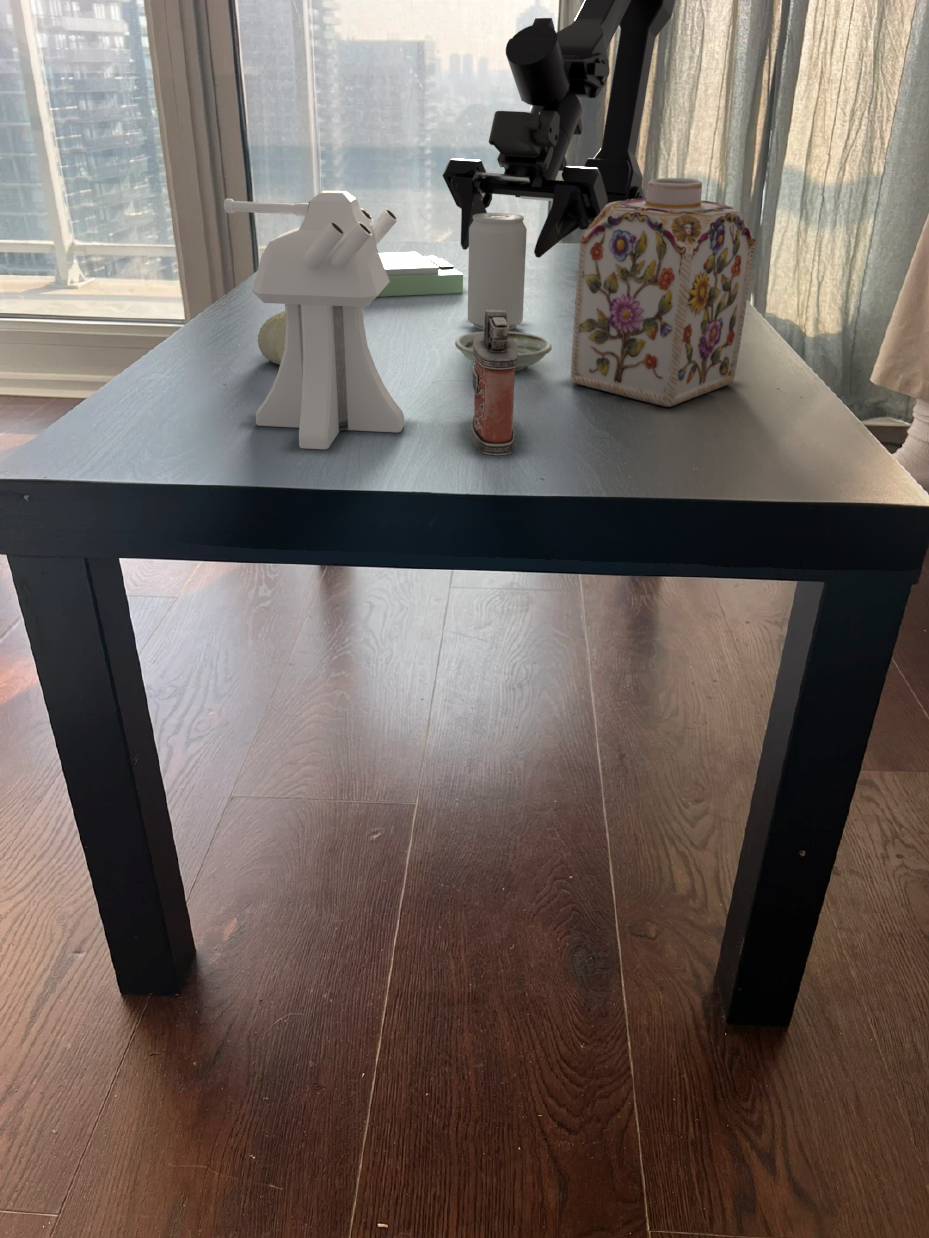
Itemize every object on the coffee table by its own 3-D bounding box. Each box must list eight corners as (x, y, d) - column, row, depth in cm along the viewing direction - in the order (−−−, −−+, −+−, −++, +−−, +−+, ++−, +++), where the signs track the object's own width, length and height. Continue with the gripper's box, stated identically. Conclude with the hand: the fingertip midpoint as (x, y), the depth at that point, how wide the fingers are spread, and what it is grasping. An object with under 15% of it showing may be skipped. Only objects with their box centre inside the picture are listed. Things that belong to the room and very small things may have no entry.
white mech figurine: (265, 399, 88) (247, 180, 79) (413, 406, 86) (410, 185, 78) (224, 444, 77) (196, 198, 68) (390, 452, 76) (384, 203, 67)
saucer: (534, 383, 93) (536, 358, 92) (440, 372, 96) (440, 347, 95) (561, 359, 101) (563, 335, 100) (473, 349, 104) (474, 326, 103)
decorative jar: (737, 385, 94) (769, 181, 85) (671, 411, 87) (698, 190, 78) (634, 361, 101) (653, 170, 92) (564, 383, 94) (578, 178, 85)
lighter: (467, 422, 83) (469, 301, 78) (506, 422, 83) (511, 301, 78) (476, 455, 76) (479, 324, 71) (519, 455, 76) (525, 324, 71)
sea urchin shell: (368, 332, 101) (342, 286, 94) (347, 400, 100) (320, 358, 92) (289, 324, 104) (258, 278, 97) (268, 390, 102) (234, 348, 95)
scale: (434, 273, 141) (434, 250, 139) (462, 293, 129) (463, 267, 128) (324, 277, 137) (323, 253, 135) (343, 298, 125) (342, 272, 124)
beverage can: (523, 320, 116) (528, 212, 110) (520, 333, 110) (525, 220, 105) (470, 318, 117) (472, 210, 111) (464, 331, 111) (466, 218, 105)
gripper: (451, 79, 110) (401, 194, 106) (608, 83, 102) (558, 208, 99) (481, 153, 119) (436, 260, 116) (626, 162, 112) (582, 277, 109)
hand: (499, 251), depth 110 cm, fingers open, 9 cm apart
